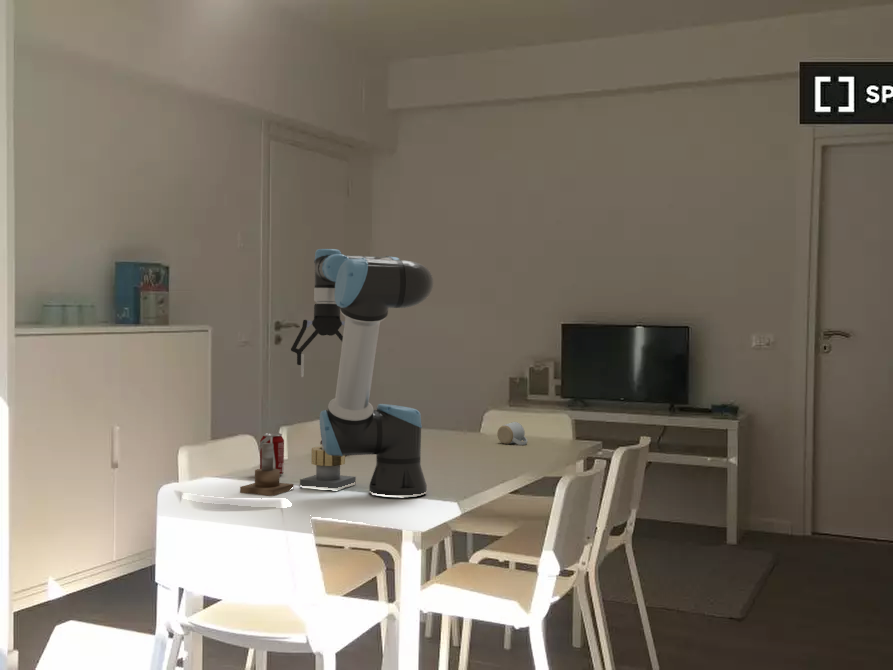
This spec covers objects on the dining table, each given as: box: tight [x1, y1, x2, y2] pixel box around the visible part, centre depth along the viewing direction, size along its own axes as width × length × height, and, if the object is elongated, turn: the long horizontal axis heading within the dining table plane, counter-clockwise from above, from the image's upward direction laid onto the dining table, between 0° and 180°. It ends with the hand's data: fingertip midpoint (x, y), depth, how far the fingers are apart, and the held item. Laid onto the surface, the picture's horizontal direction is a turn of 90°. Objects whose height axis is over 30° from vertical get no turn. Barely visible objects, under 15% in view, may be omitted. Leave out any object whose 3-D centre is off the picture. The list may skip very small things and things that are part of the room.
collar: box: [311, 446, 346, 466], centre depth 265 cm, size 9×9×4 cm
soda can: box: [259, 432, 285, 475], centre depth 281 cm, size 7×7×12 cm
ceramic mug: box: [497, 421, 528, 446], centre depth 359 cm, size 11×8×8 cm
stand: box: [239, 443, 294, 497], centre depth 257 cm, size 10×10×12 cm
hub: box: [299, 444, 357, 488], centre depth 265 cm, size 11×11×13 cm
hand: (326, 377), depth 281 cm, fingers open, 13 cm apart
